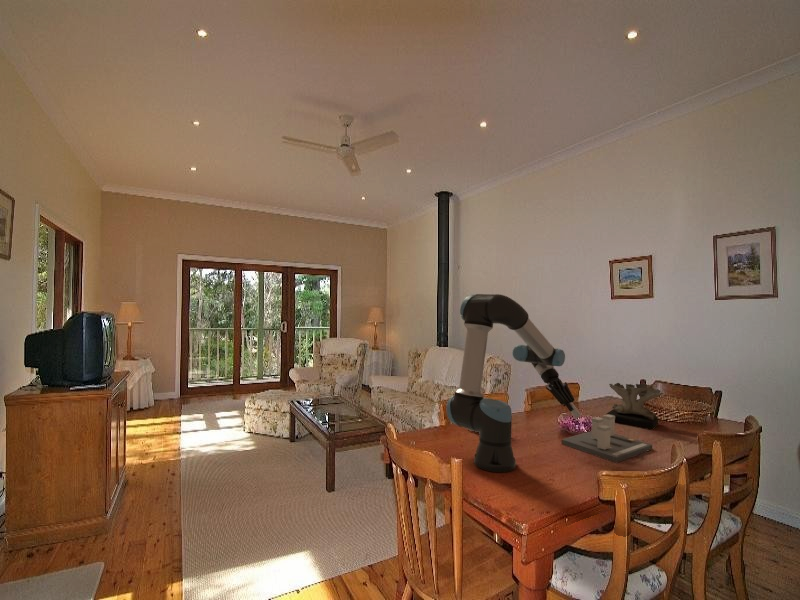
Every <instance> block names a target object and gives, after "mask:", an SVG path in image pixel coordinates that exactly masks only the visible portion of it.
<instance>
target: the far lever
mask: <svg viewBox="0 0 800 600" xmlns="http://www.w3.org/2000/svg"><path fill="white" fill-rule="evenodd" d="M606 414H607V413H606ZM606 414H604V415H602V418H603V419H604V425H606V426H609V427H611V430H610V436H613V435H615V434H616V433H615V431H616V430H615V429H616V428H615V426H616V423H615V416H614V415H609V414H607V415H606Z"/></svg>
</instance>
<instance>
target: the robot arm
mask: <svg viewBox="0 0 800 600" xmlns="http://www.w3.org/2000/svg"><path fill="white" fill-rule="evenodd" d="M459 314H460V317H461V319H462V320H463V325H464V327H465V328H466V335H465V341H464V342H465V343H464V350H463V358H462V364H461V372H460V373H461V374H460V380H459V387H458V388H457V389H455V390H454V395H451V396H450V397H449V399H448V400H447V402H446V403H447V404H446V407H445V408H446V417H447V418H448V420H449V421H450V422H451V423H452V424H454V425H455V426H458V427H460V428H464V429H467V430H468V429H470V430H473V431H477V432H479V433H478V434H479V435H478V436H479V439H478V440H479V441H478V445H477V448H476V450H475V454H474V457H473V463H474V465H475V466H476V467H477V468H479V469H481V470H483V471H487V472H491V473H509V472H513V471H514V470H515V469H516V467H517V466H516V465H517V463H516V458H515V456H514V455H515V454H514V451H513V448H512V422H513V421H512V420H513V415H512V407H511V406H510V405H509V404H508V403H507V402H505V401H503V400H500V399H496V398H495V399H494V398H489V397H485V395H484V394H483V393H482V390H481V389H482V382H483V376H484V368H485V361H486V360H485V359H486V351H487V343H488V338H489V332H490V331H492V330H493V328H494V327H493V326H494V324H500V325H503V326H506V327H507V328H508V329H509V330H510V331H514V332H515V333H516V334H517V335H518V337H519V338H521V340H522V341H523V342H524V343H525V344H526V345H525V344H517V345H515V346H514V347H513V349H512V357H513V359H515V360H516V361H518V362H522V363H523V362H524V363H529V364H530V363H531V365H532V366H533V368H534V369H535V371H536V372H537V374H538V375H539V377H540V378H541V380H542V382H544V383H545V384H546V385H547V386H546V387H545V389H546V390H547V391H549V392H550V394H551V395H553V397H554V398H555V400H557V402H558V403H559V404H560V405H561V406H563V407H567V409H568V411H569V412H570V413H571V415H572V416H573V418H574V419H575V420H577V419H579V418H580V417H581V416H582V414H581V412H580V411H579V409H578V408H577V407H576V405H575V403H574V402H575V397H574V396H573V394H572V392H571V389H570V388H569V386H568V383H567V382H566V381H565V382H564V381H563V380H562V379H561V378H560V377H559V376H560V375H559V373H558V371H557V370H556V368H555V367H562V366H563V365H564V363H565V361H566V353H565V351H564V350H563V349H560V348H555V347H554V346H553V345H552V343H550V342H549V341H548V339H547V338H546V336H545V335H544V334H543V333H542V332H541V331H540V330H539V328H537V326H536V325H535V324H534V322H532V320H531V319H530V318H529V313H528V311H527V310H526V309H525V308H523V306H522V305H521V304H519V303H518V302H517V301H516V300H514V299H512V298H511V297H509V296H506V295H504V294H499V293H497V294H490V293H488V294H487V293H486V294H485V293H484V294H483V293H477V294H475V293H474V294H470V295H467V296H466V297H465V298H464V299H463V300H462V302H461V304H460V308H459ZM562 381H563V382H562ZM483 398H486V399H483Z"/></svg>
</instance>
